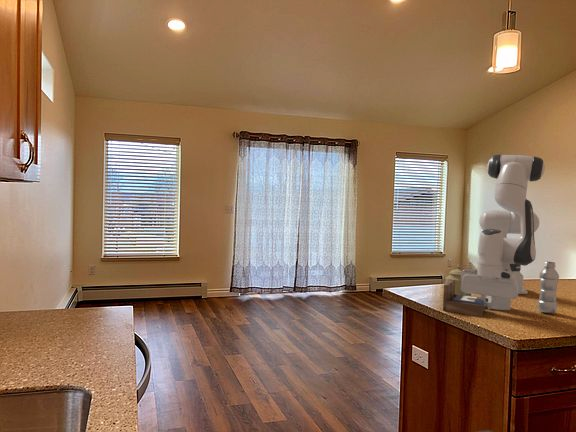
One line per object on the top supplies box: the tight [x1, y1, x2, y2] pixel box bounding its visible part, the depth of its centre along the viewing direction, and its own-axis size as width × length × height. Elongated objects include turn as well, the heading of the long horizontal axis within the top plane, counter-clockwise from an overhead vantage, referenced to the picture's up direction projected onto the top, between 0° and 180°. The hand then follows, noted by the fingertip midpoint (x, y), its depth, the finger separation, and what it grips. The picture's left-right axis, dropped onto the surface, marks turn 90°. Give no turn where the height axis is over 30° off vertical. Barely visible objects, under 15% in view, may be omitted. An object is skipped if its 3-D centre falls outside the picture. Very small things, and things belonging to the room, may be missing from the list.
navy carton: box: [453, 295, 485, 309], centre depth 173 cm, size 9×10×5 cm
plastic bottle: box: [537, 261, 560, 314], centre depth 172 cm, size 6×7×20 cm
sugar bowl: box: [444, 263, 472, 296], centre depth 196 cm, size 15×11×15 cm
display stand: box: [442, 280, 489, 317], centre depth 175 cm, size 15×14×10 cm
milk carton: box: [486, 262, 512, 311], centre depth 178 cm, size 7×7×19 cm
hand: (487, 307), depth 171 cm, fingers closed
